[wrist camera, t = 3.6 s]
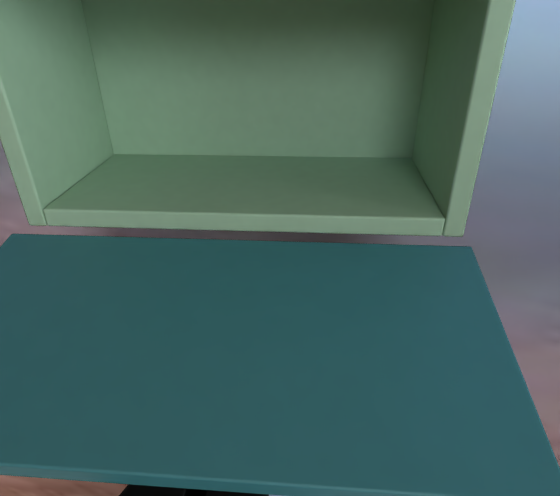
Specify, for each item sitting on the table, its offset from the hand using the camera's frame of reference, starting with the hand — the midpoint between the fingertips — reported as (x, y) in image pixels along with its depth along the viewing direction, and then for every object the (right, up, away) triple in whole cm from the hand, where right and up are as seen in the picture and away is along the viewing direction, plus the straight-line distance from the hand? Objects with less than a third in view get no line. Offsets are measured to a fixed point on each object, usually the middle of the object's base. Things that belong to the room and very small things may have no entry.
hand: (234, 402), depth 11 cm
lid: (0, +2, -3) cm, 4 cm away
